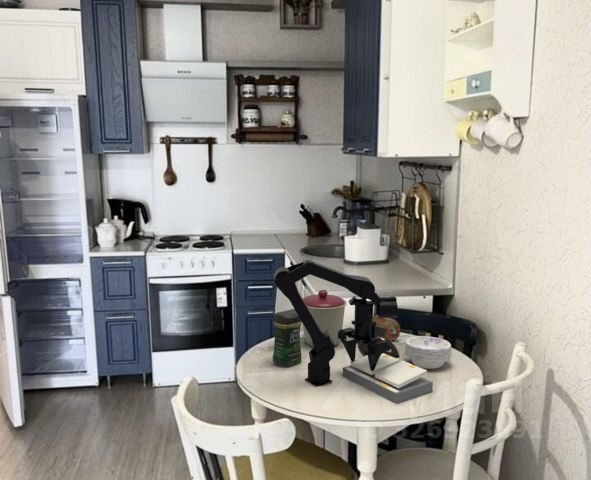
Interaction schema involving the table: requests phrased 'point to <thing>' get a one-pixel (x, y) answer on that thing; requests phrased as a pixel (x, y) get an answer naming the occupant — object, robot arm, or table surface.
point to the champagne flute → (282, 302)
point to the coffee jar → (287, 338)
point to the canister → (326, 314)
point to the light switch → (392, 353)
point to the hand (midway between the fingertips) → (362, 366)
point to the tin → (388, 327)
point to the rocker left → (382, 364)
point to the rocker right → (400, 374)
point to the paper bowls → (427, 351)
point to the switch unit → (388, 385)
